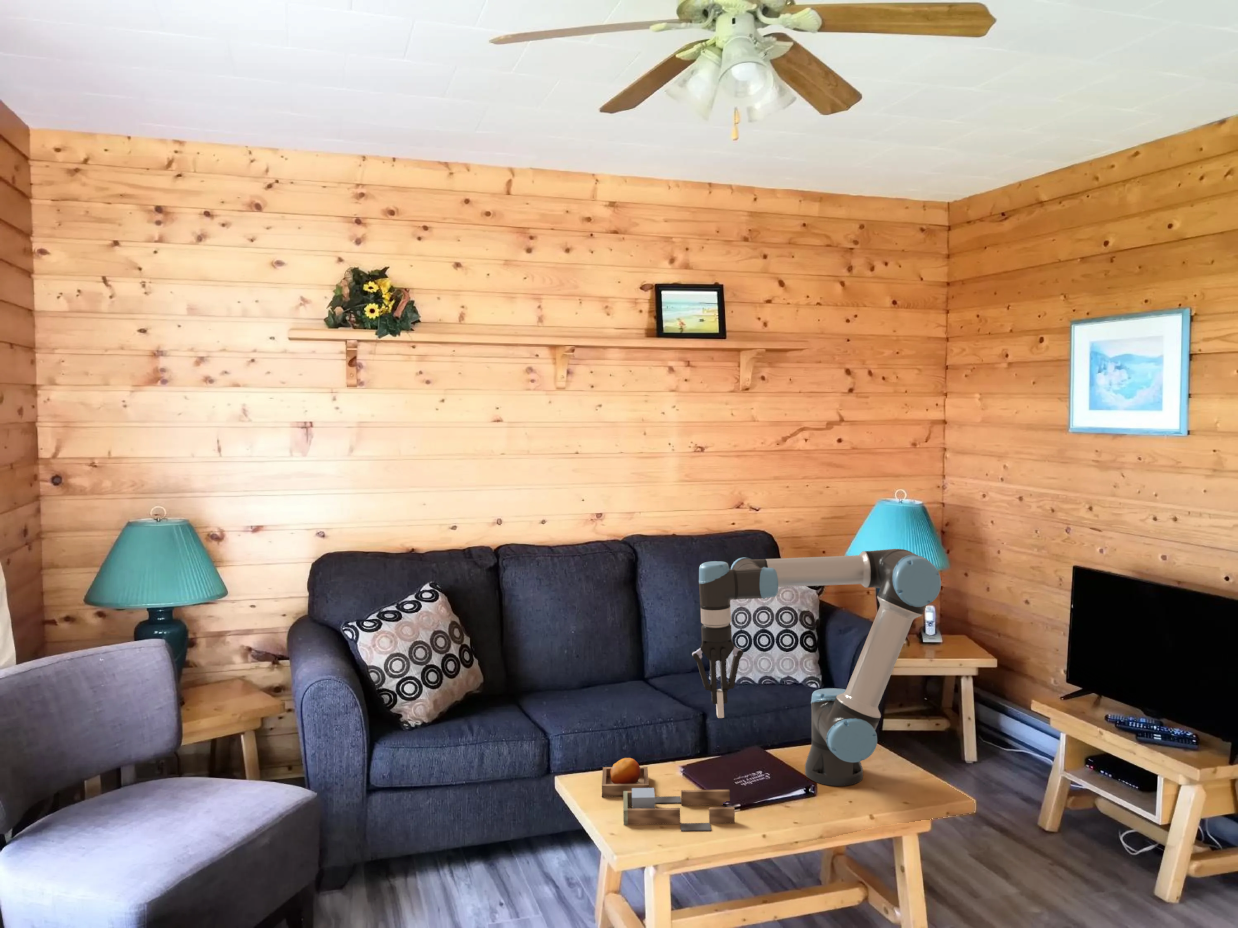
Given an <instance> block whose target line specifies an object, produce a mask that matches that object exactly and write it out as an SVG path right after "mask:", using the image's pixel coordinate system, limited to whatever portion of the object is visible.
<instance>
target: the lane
mask: <svg viewBox="0 0 1238 928" xmlns="http://www.w3.org/2000/svg"><path fill="white" fill-rule="evenodd" d="M730 793H731V791H730V789H682V790H681V791H680V795H678V796H676V795H675V796H674V795H673V796H672V795H671V796H669V795H668V796H666V795H665V796H655V805H657V804H658V805H659V804H661V805H662V804H666V805H667V804H669V805H670V804H681V806H688V807H689V806H712V807H708V822H689V823H688V822H686V823H685V822H683V823H682V822H681V807H660V808H659V807H655V808H634V809H632V808H628V807H632V791H623V797H622V799H623V801H622V802H623V808H622V809H623V810H622V811H623V826H625V825H626V826H627V825H629V826H632V825H635V826H636V825H639V826H640V825H644V826H645V825H680V832H711V831H712V828H711V824H712V825H713V824H719V825H720V824H736V822H735V821H736V820H735V818H736V817H735V812H736V811H735V810H736V809H735V807H733V806H727V807H726V806H724V805H723V802H726V801H731V796H730V795H731V794H730ZM713 806H714V807H713ZM715 806H716V807H715ZM717 806H718V807H717ZM719 806H721V807H719ZM723 806H724V807H723Z"/></svg>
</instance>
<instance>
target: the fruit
mask: <svg viewBox="0 0 1238 928" xmlns="http://www.w3.org/2000/svg"><path fill="white" fill-rule="evenodd" d="M611 767H612V768H611V771H610V774H611V781H612V782H613V783H614V784H636V783H637V782H638V780H639V777H640V767H641V766H640V765H639V763H638V762H637V761H636V760H635V758H631V757H624V758H621V759H619V760H618V761H616V762H615V763H613V765H612V766H611ZM639 783H640V782H639Z"/></svg>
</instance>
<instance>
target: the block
mask: <svg viewBox="0 0 1238 928" xmlns="http://www.w3.org/2000/svg"><path fill="white" fill-rule="evenodd" d="M655 795H656V794H655V788H654V787H649V788H632V806H631V809H634V808H656V804H655V797H656V796H655Z"/></svg>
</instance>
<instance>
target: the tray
mask: <svg viewBox="0 0 1238 928" xmlns="http://www.w3.org/2000/svg"><path fill="white" fill-rule="evenodd" d="M612 767H613V766H605V767H604V766H602V773H601V774H602V775H601V798H623V791H632V788H650V785H649V768H648V767H649V766H640V777H639V780H638V782H637V783H636V784H614V783H613V782H612V781H611V774H610V771H611V768H612ZM639 782H640V783H639Z"/></svg>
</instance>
